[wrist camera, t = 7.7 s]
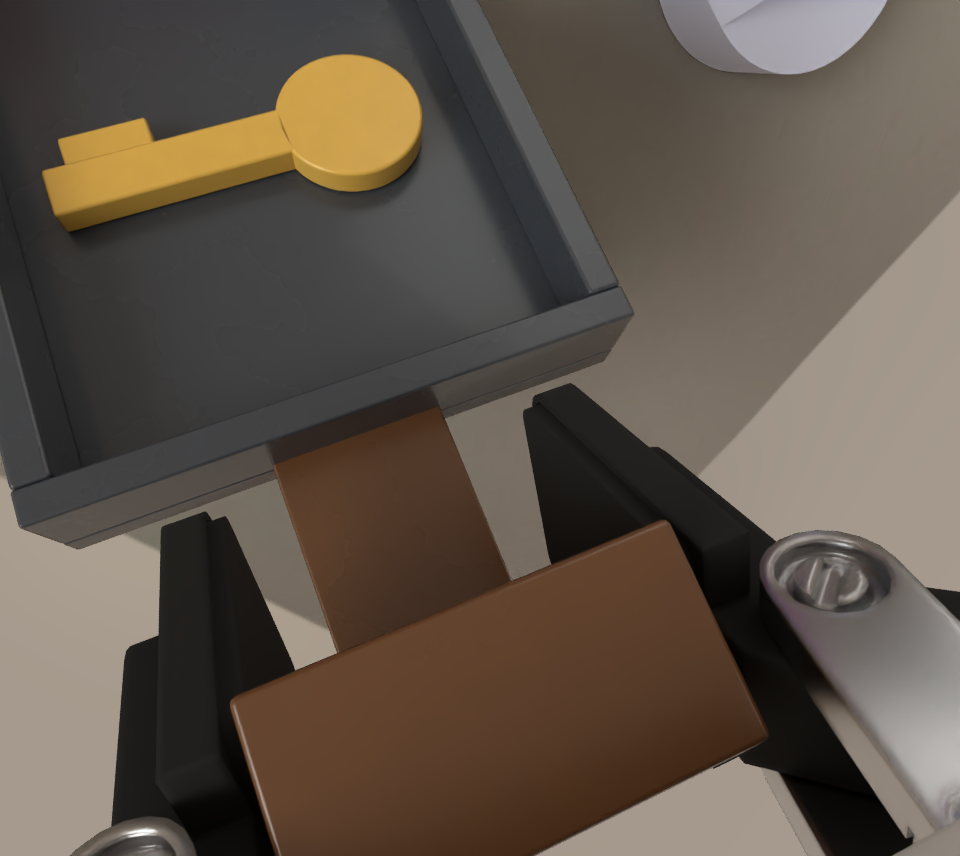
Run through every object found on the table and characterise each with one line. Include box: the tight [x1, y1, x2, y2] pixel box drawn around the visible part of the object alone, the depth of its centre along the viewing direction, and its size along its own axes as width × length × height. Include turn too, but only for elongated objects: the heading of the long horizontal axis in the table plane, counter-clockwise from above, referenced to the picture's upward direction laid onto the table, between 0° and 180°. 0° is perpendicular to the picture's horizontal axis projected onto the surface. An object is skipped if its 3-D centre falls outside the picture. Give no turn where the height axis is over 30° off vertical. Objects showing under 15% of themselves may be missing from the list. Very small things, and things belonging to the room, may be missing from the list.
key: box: [42, 54, 423, 232], centre depth 14 cm, size 7×3×1 cm
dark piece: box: [0, 0, 769, 856], centre depth 11 cm, size 18×10×7 cm
